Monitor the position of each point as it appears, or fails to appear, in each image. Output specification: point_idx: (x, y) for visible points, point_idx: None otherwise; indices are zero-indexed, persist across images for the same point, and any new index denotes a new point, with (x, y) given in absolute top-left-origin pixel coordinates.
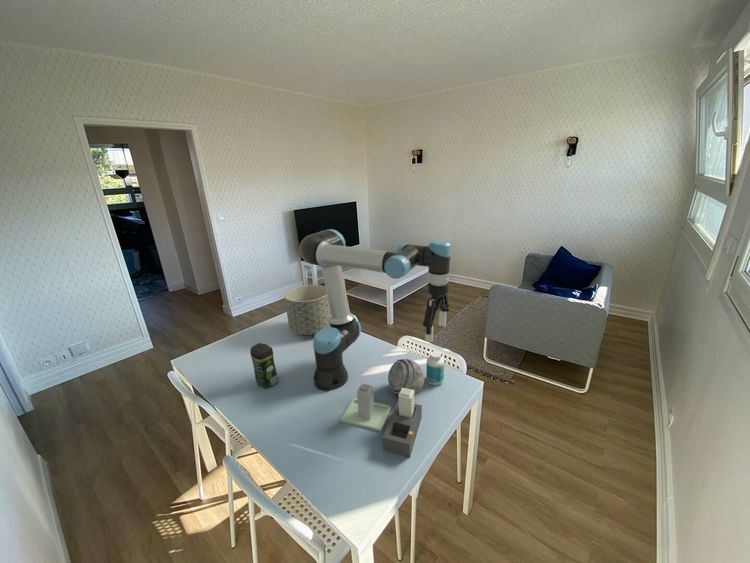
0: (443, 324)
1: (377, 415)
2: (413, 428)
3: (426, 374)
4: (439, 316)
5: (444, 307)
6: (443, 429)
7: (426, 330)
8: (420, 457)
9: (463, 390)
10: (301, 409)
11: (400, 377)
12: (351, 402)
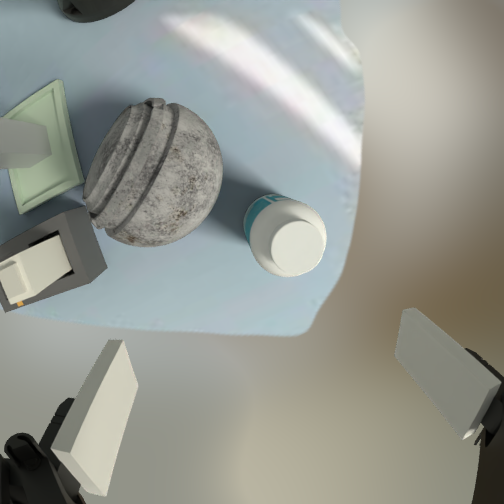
0: (405, 354)
1: (46, 171)
2: (29, 300)
3: (258, 201)
4: (451, 358)
5: (474, 495)
6: (115, 325)
7: (51, 428)
8: (38, 312)
9: (276, 313)
10: (7, 35)
11: (87, 186)
12: (42, 90)
